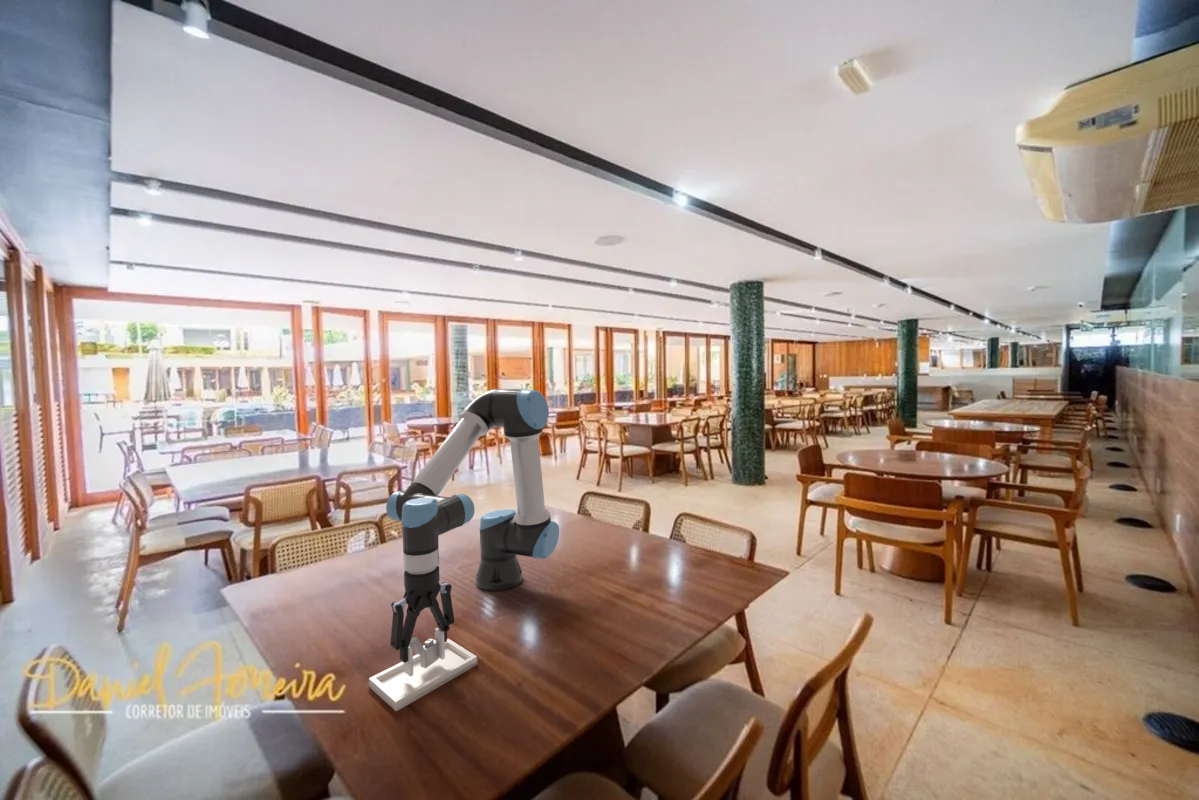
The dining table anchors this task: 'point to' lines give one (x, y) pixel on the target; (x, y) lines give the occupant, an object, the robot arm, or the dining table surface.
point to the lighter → (426, 651)
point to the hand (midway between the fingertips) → (425, 664)
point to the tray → (421, 676)
